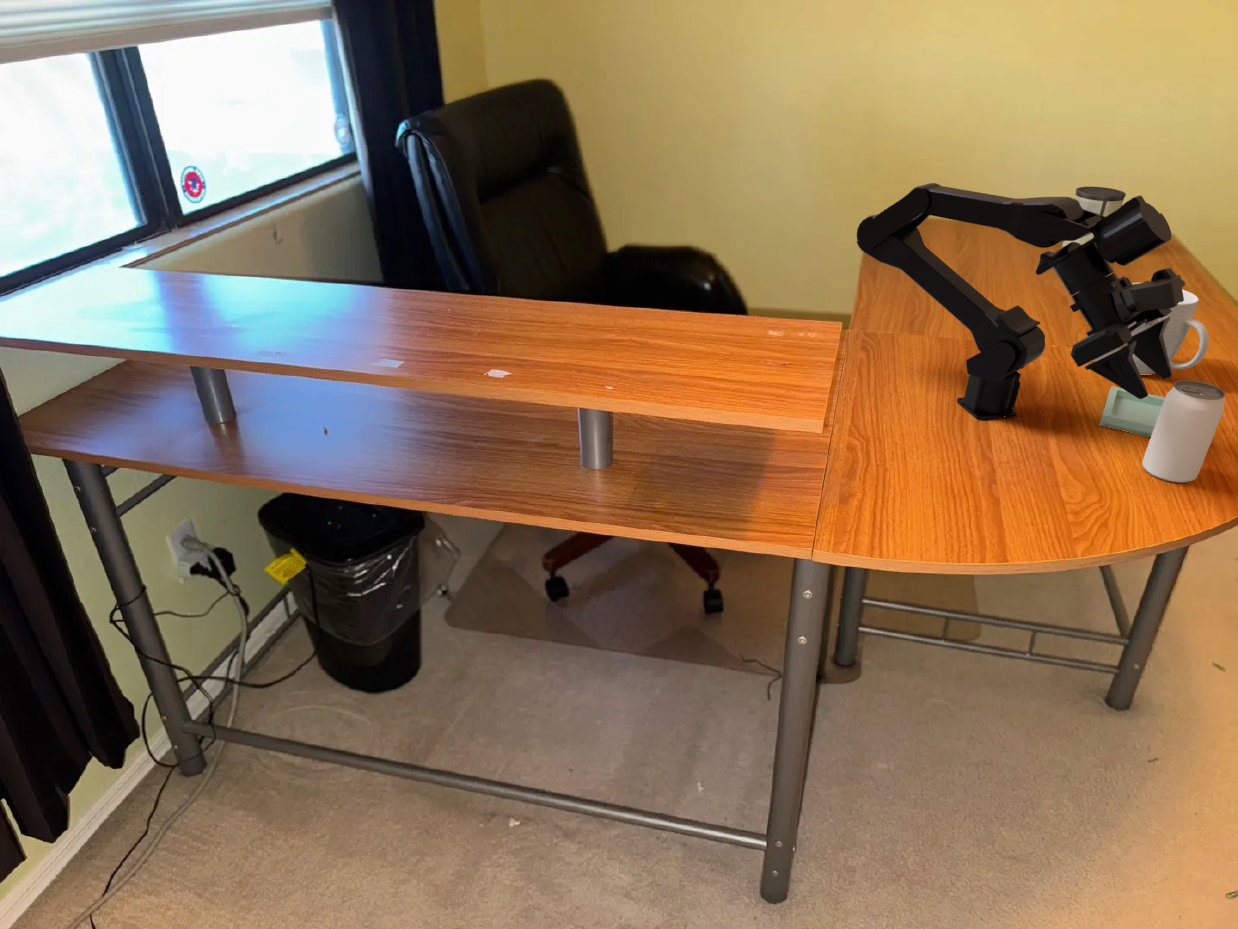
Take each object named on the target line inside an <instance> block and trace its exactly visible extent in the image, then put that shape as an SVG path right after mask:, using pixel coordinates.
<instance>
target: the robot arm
mask: <svg viewBox="0 0 1238 929" xmlns="http://www.w3.org/2000/svg"><path fill="white" fill-rule="evenodd" d="M930 216H932V217H938V218H942V219H947V220H953V221H958V222H963V223H968V224H973V225H979V226H983V227H988V228H993V229H998V230H1000V231H1004V232H1005V233H1006V234H1007V233H1008V234H1009V235H1010V236H1012V237H1013V238H1014V239H1016V240H1019V241H1021V242H1023V243H1026V244H1029V245H1030V246H1033V247H1036V248H1040V249H1044V248H1046V249H1047V248H1051V247H1054V246H1056V245H1059V244H1061V243H1063V241H1075V240H1077V239H1080V238H1082V237H1084V236H1087V235H1089V234H1093V235H1094V238H1092V239H1091V240H1089V241H1087V242H1086V243H1084V244H1082V245H1081V244H1079V243H1077V242H1071V243H1069V244H1068V245H1066V246H1064V247H1063V248H1059V249H1058V250H1057V251H1055V252H1053V251H1050V250H1047V251H1045V252H1043V253H1041V254H1040V255H1039V261H1038V264H1037V267H1036V269H1035V274H1036V275H1037V276H1040V275H1042V274H1045V273H1046V272H1048V271H1051V270H1052V269H1053V270H1054V271H1055V273H1056V275H1057V277H1058V278H1059V279H1060V282H1061V283H1062V285H1063V286H1064V288H1065V290H1066V291H1067V292H1068V294H1069V296H1070V297H1071V300H1072V301H1073V302H1074V303H1073V304H1071V305H1069V308H1070V309H1071V311H1072V313H1076V312H1078V311H1079V312H1080V313H1081V315H1082V317H1083V318H1084V320H1085V321H1086V323H1087V326H1089V328H1090V330H1088V331H1087V332H1086V335H1087V336H1086V337H1085V338H1082V339H1081V340H1079V341H1078V342H1076V343H1074V344H1073V346H1072V348H1071V352H1070V357H1071V358H1072V359H1073V361H1074V363H1075V364H1076V366H1077V368H1080V367H1082V366H1084V365H1085V366H1084V369H1085V370H1087V371H1092V372H1094V373H1095V374H1097V375H1099V376H1101V377H1103V378H1104V379H1106V380H1108V381H1110V382H1111V383H1113V384H1115V385H1116V386H1118V388H1122V389H1124V390H1126V391H1127V392H1129V393H1130V394H1132V395H1134V396H1135V397H1137V398H1138V399H1143V398H1145V397H1147V396H1148V394H1149V392H1148V389H1147V386H1146V385H1145V382H1144V380H1143V376H1141V375H1140V373H1139V371H1138V368H1137V366H1136V364H1135V362H1134V359H1133V354H1134V355H1135V356H1136V357H1138V358H1139V359H1140V360H1141V361H1142V362H1143V363H1144V364H1146V365H1147V366H1148V367H1149V368H1150V369H1151V370H1152V371H1154V372H1155V373H1156V374H1155V375H1157V376H1159V377H1160V378H1162V379H1163V380H1168V379H1169V378H1171V377H1172V376H1173V372H1172V369H1171V367H1170V363H1169V359H1168V355H1167V351H1166V347H1165V343H1164V338H1163V333H1164V330H1165V328H1166V326H1167V323H1168V322H1169V320H1170V317H1168V318H1166V319H1164V320H1162V321H1160V322H1159V321H1158V318H1163V317H1165V316H1166V315H1168V314H1169V313H1171V312H1172V311H1171V310H1170V308H1173V307H1176V306H1177V305H1178V303H1179V302H1183V301H1184V297H1183V291H1182V290H1183V287H1185V285H1186V282H1185V281H1184V280H1182V276H1181V274H1178V275H1177V274H1176V273H1175V271H1173V269H1172V268H1171V267H1168V268H1163V269H1158V270H1156V271H1155V272H1153V273H1152V277H1151V279H1150V280H1145V281H1144V282H1138V283H1139V284H1134V285H1133V284H1132V283H1133V282H1132V281H1131V280H1130V278H1129V277H1126V276H1125V275H1122V277H1120V278H1119V277H1118V276H1117V274H1116V272H1115V271H1114V269H1113V267H1112V264H1115V263H1117V265H1120V266H1124V267H1125V266H1127V265H1130V264H1131V263H1132V262H1135V261H1136V260H1138V259H1140V258H1141V257H1143V256H1145V255H1147V254H1149V253H1150V252H1152V251H1154V250H1156V249H1158V248H1160V247H1162V246H1163V245H1165V244H1166V243H1168V242H1170V241H1171V240H1172V230H1171V228H1170V226H1169V223H1168V221H1167V219H1166V217H1165V216H1164V214H1163V213H1159V211H1158V209H1156V208H1155V207H1154V206H1153V205H1151V204H1150V203H1148V202H1146V200H1145V198H1144V197H1143V196H1142V195H1141V194H1139V195H1136V196H1134V197H1132V198H1131V199H1129V200H1128V201H1126V202H1125V203H1122V206H1121V207H1120V208H1119V209H1117V210H1116V211H1114V212H1113V213H1111V214H1109V215H1108V216H1103V215H1100V214H1097V213H1094V212H1091V211H1088V210H1085V209H1082V207H1081V206H1080V204H1079V202H1078V201H1077V200H1075V199H1074V198H1073V197H1070V196H1040V197H1037V196H1036V197H1027V198H1026V197H1025V198H1024V197H1023V198H1021V197H1020V198H1013V197H1008V196H1002V195H996V194H990V193H983V192H979V191H973V190H968V189H961V188H955V187H949V186H943V185H940V184H939V183H936V182H931V183H930V182H929V183H926V184H923V185H919V186H918V185H917V186H916V187H914V188H913V189H912V190H910V191H909V192H908V193H907V194H906V195H904V196H903V197H902V198H901V199H899V200H898V201H896V202H894V203H893V204H892V205H890V206H888V207H887V208H885V209H884V210H882V211H881V212H880V213H877V214H874V215H871V216H867V217H865V218H864V219H863V220H862V221H861V222H860V223H859V225H858V227H857V229H856V245H857V246H858V248H859V249H860V251H861V252H863V253H865V254H866V255H868V256H869V257H871V258H872V259H873V260H876V261H877V262H878V263H882V264H883V265H884V264H885V265H887V266H890V267H893V268H896V269H899V270H900V271H902V273H904V274H905V275H906V276H907V277H909V278H910V279H911V280H912V281H913V282H914V283H916V285H918V286H919V287H920V288H921V289H923V290H924V291H925V292H926V293H927V294H928V295H929V296H930V297H932V299H934V300H935V301H936V302H937V303H938V304H939V305H941V307H943V308H944V309H945V310H947V312H949V313H950V314H951V315H952V316H953V317H954V318H955V319H956V320H957V321H959V322H960V323H961V324H962V325H963V326H964V327H965V328H967V330H969V331H970V333H971V335H972V338H973V340H974V343H975V345H976V347H977V350H978V351H979V353H977V354H975V355H973V356H970V357H969V358H968V359H966V360H965V362H966V372H967V374H968V380H967V384H966V388H965V392H964V395H963V397H957V398H956V402H957V403H958V404H959V405H961V406H962V407H963V408H964V409H965V410H966V411H967V412H969V413H970V414H971V415H972V416H974V418H976V419H979V420H987V419H988V418H989V419H996V418H995V417H1003V418H1009V417H1008V416H1016V415H1017V416H1018V412H1017V411H1016V410H1015V409H1014V407H1015V406H1016V402H1017V398H1018V395H1019V392H1020V387H1021V382H1020V379H1021V375H1022V374H1021V373H1020V372H1019V370H1022V369H1024V368H1025V367H1026V366H1027V365H1028V364H1030V363H1032V362H1034V361H1035V360H1037V359H1038V358H1040V357H1041V355H1042V354H1043V352H1044V351H1045V347H1046V335H1045V332H1044V331H1043V330H1042V329H1041V328H1040V326H1039V325H1040V324H1041V322H1040V321H1038V320H1036V319H1034V318H1032V317H1030V315H1029V314H1027V312H1026V311H1025V310H1024V309H1023V308H1022V307H1021V306H1019V305H1015V306H1013V307H1011V308H1009V309H1007V310H1005V309H1002V308H1000V307H997V306H996V305H994V304H993V303H992V302H991V301H989V300H988V299H987V298H986V297H985V296H984V295H983V294H982V293H981V292H979V291H978V290H977V289H976V288H975V287H973V286H972V285H971V284H970V283H968V282H967V280H965V279H964V278H963V277H962V276H961V275H959V274H958V273H957V272H956V271H955V270H953V268H952V267H950V266H949V265H948V264H946V262H944V261H943V260H942V259H941V258H940V257H938V256H937V255H936V254H935V253H934V252H933V251H931V250H930V249H929V248H928V247H927V246H926V245H925V243H924V240H923V238H922V235H921V233H920V230H919V229H918V227H919V226H921V225H922V224H923V223H924V222H925V221H927V219H928V218H929V217H930ZM1004 416H1005V417H1004ZM1017 416H1016V417H1017ZM985 418H986V419H985ZM989 419H988V420H989Z"/></svg>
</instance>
